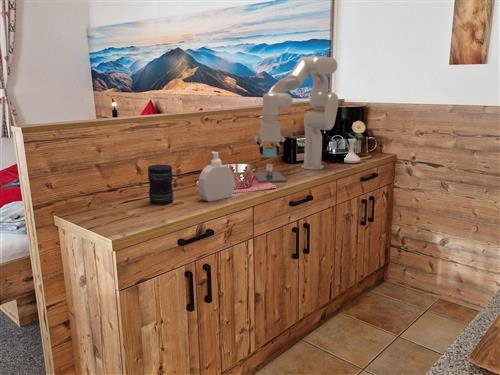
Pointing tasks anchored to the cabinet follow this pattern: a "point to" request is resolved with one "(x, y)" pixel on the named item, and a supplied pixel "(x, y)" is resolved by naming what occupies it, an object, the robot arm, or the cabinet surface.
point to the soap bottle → (216, 181)
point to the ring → (269, 152)
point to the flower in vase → (357, 128)
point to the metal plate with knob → (270, 175)
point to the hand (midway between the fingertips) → (269, 154)
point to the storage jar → (160, 184)
